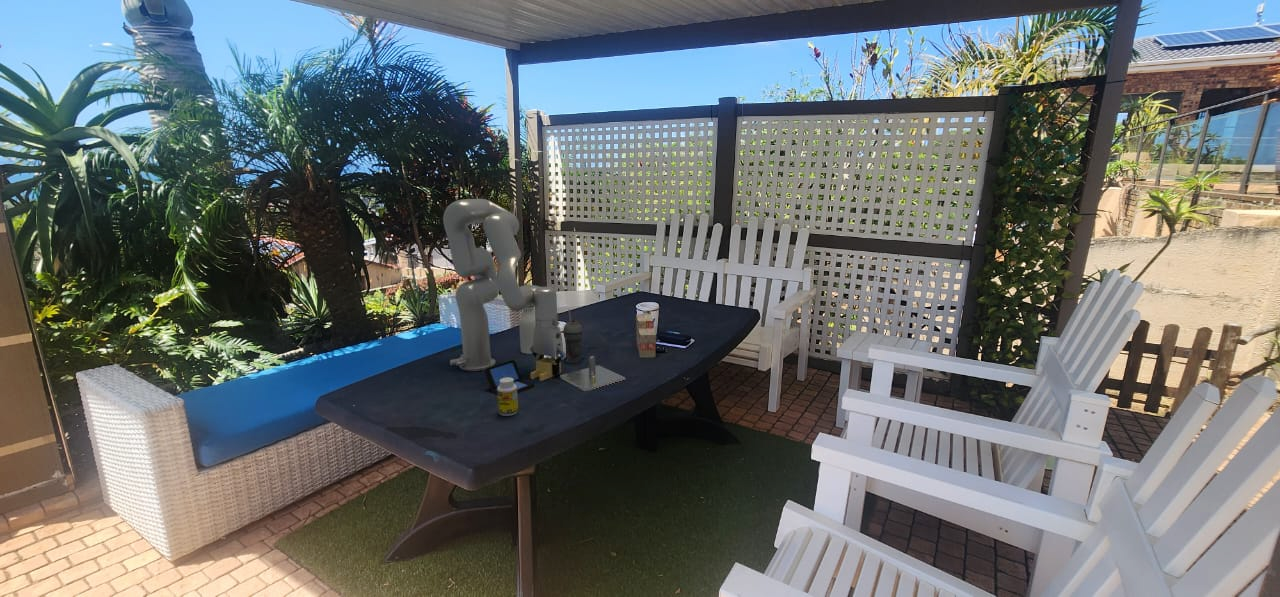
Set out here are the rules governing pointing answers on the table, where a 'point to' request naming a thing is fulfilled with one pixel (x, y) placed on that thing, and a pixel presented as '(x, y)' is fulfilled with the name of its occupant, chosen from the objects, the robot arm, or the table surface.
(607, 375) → the post base
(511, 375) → the handheld game console
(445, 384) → the table surface
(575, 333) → the beverage cup
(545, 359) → the yellow hollow square block
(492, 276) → the robot arm
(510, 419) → the table surface
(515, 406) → the supplement bottle
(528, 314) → the milk bottle
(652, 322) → the stack of blocks
